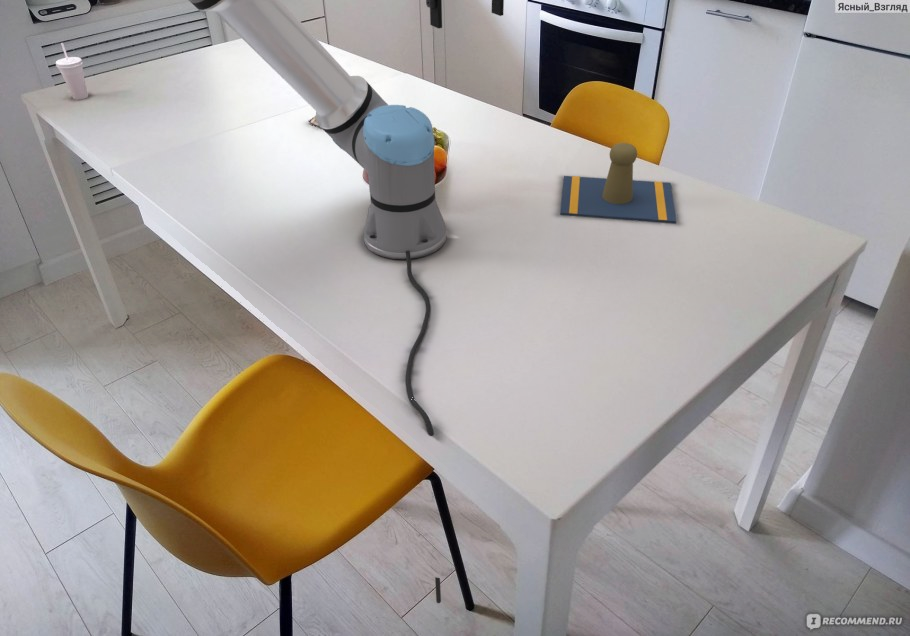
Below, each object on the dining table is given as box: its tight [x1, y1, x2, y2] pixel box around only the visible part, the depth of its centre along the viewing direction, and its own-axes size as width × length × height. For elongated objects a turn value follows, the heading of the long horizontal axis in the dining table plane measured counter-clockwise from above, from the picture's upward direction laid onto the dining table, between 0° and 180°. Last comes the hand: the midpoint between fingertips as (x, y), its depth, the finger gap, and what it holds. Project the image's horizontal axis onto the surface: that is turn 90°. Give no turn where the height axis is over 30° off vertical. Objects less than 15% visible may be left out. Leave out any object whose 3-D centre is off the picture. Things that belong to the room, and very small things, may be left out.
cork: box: [602, 142, 638, 204], centre depth 140 cm, size 6×6×11 cm
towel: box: [559, 175, 677, 224], centre depth 144 cm, size 16×22×1 cm
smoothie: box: [55, 42, 89, 100], centre depth 188 cm, size 6×6×14 cm
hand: (467, 20), depth 131 cm, fingers open, 13 cm apart
